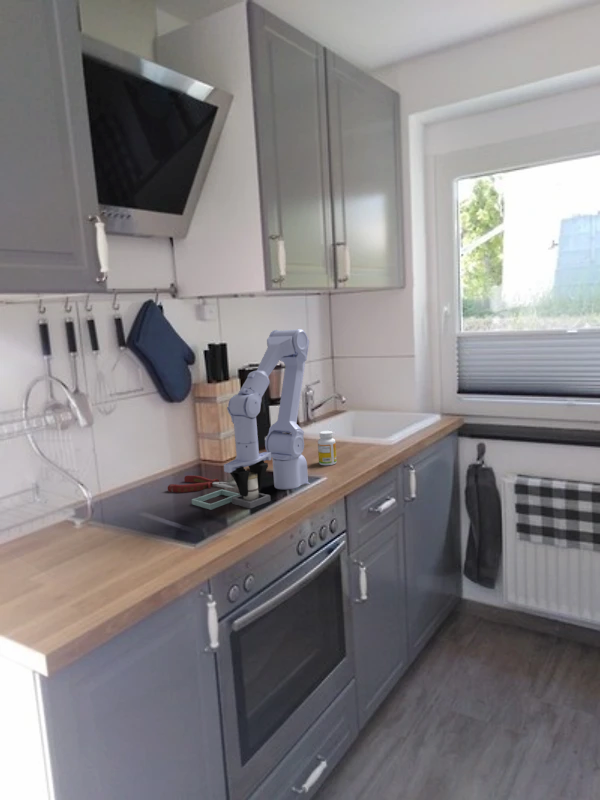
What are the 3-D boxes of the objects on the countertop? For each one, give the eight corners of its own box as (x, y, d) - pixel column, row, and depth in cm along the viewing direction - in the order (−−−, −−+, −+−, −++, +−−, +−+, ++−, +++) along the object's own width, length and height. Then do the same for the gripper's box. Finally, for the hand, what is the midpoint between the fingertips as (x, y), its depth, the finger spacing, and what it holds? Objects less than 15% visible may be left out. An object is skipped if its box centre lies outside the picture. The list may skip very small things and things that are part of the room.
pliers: (229, 497, 159) (228, 488, 158) (166, 493, 166) (165, 485, 165) (247, 485, 169) (246, 476, 169) (187, 482, 176) (186, 474, 176)
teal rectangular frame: (222, 496, 158) (221, 489, 158) (241, 501, 153) (240, 493, 153) (192, 507, 151) (191, 499, 151) (210, 512, 146) (210, 504, 145)
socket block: (252, 498, 154) (251, 491, 154) (270, 503, 150) (270, 495, 149) (232, 506, 149) (231, 498, 149) (250, 511, 145) (250, 503, 144)
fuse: (251, 497, 152) (249, 471, 151) (262, 500, 149) (260, 473, 148) (240, 501, 149) (237, 475, 148) (250, 504, 147) (248, 477, 145)
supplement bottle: (329, 460, 189) (328, 429, 188) (340, 463, 185) (338, 431, 183) (315, 463, 186) (313, 432, 185) (325, 466, 182) (323, 434, 180)
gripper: (256, 434, 155) (260, 483, 157) (214, 445, 144) (218, 498, 147) (275, 436, 150) (279, 487, 152) (232, 448, 140) (237, 503, 142)
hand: (250, 493), depth 149 cm, fingers closed on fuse, 4 cm apart
